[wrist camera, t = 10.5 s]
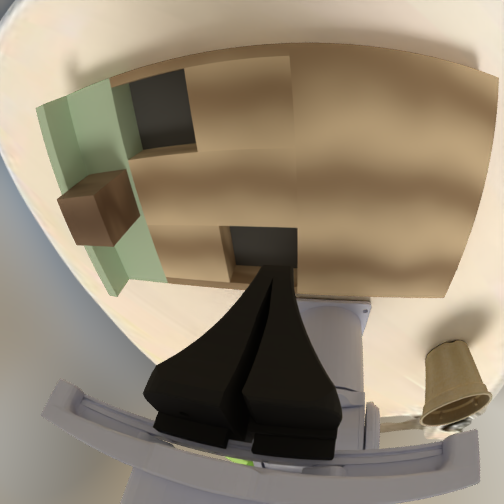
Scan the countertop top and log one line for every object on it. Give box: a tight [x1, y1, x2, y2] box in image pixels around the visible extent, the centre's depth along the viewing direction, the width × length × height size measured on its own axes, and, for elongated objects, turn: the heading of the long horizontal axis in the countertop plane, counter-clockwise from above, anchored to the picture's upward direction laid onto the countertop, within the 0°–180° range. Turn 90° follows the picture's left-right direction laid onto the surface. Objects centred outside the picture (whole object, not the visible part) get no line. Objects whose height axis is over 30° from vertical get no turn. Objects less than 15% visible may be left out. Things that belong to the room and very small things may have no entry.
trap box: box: [36, 43, 499, 298], centre depth 18 cm, size 18×30×5 cm, turn 96°
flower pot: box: [420, 340, 492, 426], centre depth 25 cm, size 9×9×9 cm
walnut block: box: [57, 169, 140, 247], centre depth 19 cm, size 4×4×4 cm
